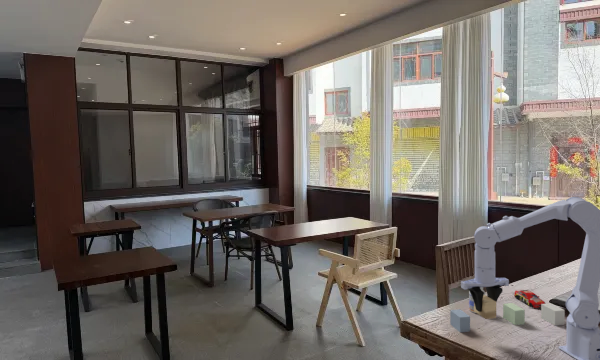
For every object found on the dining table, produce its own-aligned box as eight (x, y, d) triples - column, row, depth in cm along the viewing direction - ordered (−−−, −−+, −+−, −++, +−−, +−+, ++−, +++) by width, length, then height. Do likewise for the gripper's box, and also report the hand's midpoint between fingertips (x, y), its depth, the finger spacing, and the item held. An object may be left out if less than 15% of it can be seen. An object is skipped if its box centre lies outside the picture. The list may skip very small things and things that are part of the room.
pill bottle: (484, 308, 144) (484, 282, 143) (486, 314, 139) (486, 287, 138) (468, 307, 145) (468, 281, 145) (470, 313, 140) (470, 286, 140)
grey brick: (564, 324, 129) (564, 310, 129) (554, 325, 129) (554, 311, 128) (550, 317, 135) (550, 303, 135) (541, 318, 135) (541, 304, 134)
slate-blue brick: (470, 331, 127) (470, 316, 126) (460, 332, 126) (459, 317, 126) (460, 323, 133) (460, 309, 132) (450, 324, 132) (450, 310, 132)
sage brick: (524, 324, 130) (524, 309, 130) (514, 325, 130) (514, 310, 130) (512, 316, 136) (512, 302, 136) (503, 317, 136) (503, 303, 136)
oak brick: (496, 318, 118) (496, 301, 117) (485, 319, 117) (485, 302, 117) (484, 310, 124) (484, 294, 123) (473, 311, 123) (473, 295, 123)
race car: (548, 309, 142) (549, 299, 141) (534, 310, 141) (534, 300, 141) (525, 296, 155) (525, 286, 154) (512, 297, 154) (512, 287, 154)
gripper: (498, 261, 124) (498, 302, 125) (455, 264, 122) (455, 306, 123) (513, 267, 117) (513, 311, 118) (468, 271, 115) (468, 316, 116)
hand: (484, 309), depth 120 cm, fingers closed on oak brick, 3 cm apart
